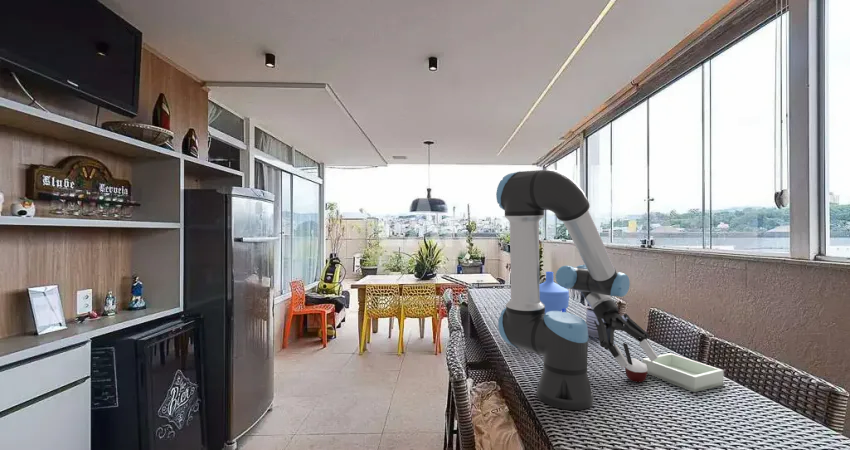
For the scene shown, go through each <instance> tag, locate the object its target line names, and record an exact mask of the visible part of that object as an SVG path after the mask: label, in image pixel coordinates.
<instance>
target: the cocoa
mask: <svg viewBox="0 0 850 450" xmlns="http://www.w3.org/2000/svg"><path fill="white" fill-rule="evenodd" d="M622 344H623V349H624V353H625V356H626V357H625V358H626V360H627V362H628V363H629V364H628V365H627V366H625V367H624V369H625V375H626V378H627V379H629V381H632V382H633V383H642V382H645V380H646V378H647V376H648V374H647V370H648V369H647V365H646V364H645V363H643V361H640V360H639V359H638V358H633V357H631V353H630V350H629V349H630V348H629V346H628V344H627V343H625V342H623V343H622Z"/></svg>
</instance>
